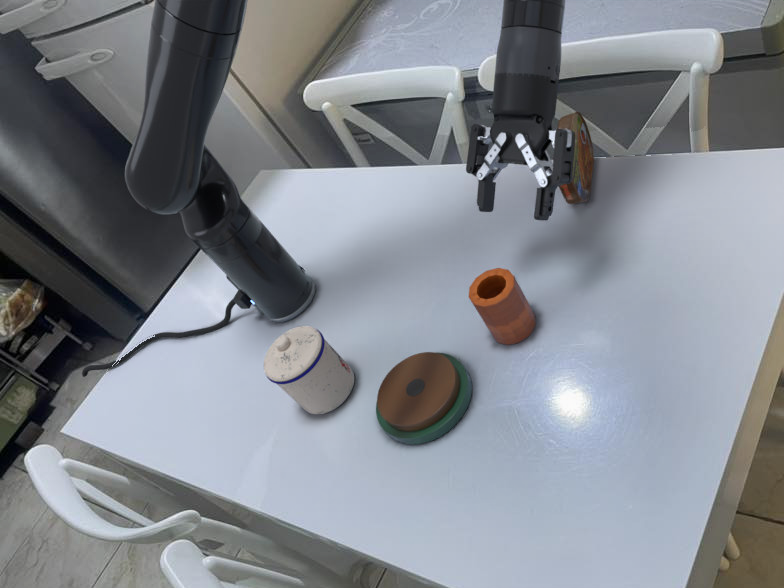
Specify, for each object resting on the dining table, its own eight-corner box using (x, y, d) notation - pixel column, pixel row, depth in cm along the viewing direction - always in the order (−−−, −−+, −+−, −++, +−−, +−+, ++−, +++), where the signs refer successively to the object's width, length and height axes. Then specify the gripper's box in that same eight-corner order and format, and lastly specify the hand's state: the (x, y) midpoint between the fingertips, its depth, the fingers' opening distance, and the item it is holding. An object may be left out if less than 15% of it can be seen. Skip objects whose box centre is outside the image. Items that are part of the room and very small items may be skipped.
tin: (588, 213, 99) (570, 168, 93) (566, 217, 100) (548, 172, 94) (595, 144, 107) (580, 98, 101) (575, 149, 108) (559, 103, 102)
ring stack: (366, 440, 90) (354, 428, 88) (402, 357, 97) (391, 344, 95) (453, 449, 84) (442, 436, 82) (484, 360, 91) (475, 346, 88)
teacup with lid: (368, 370, 98) (322, 318, 89) (332, 424, 95) (281, 376, 86) (312, 353, 105) (264, 304, 96) (277, 403, 101) (224, 357, 93)
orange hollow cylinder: (484, 338, 93) (460, 300, 87) (507, 304, 95) (484, 264, 89) (521, 349, 89) (498, 310, 83) (543, 313, 91) (522, 272, 85)
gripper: (459, 70, 83) (449, 209, 88) (560, 69, 75) (543, 223, 79) (498, 79, 89) (486, 209, 93) (596, 79, 80) (578, 222, 85)
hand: (512, 215), depth 86 cm, fingers open, 8 cm apart
